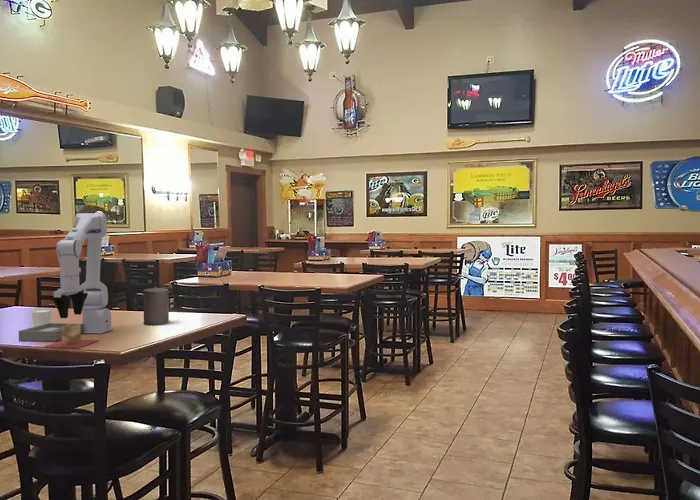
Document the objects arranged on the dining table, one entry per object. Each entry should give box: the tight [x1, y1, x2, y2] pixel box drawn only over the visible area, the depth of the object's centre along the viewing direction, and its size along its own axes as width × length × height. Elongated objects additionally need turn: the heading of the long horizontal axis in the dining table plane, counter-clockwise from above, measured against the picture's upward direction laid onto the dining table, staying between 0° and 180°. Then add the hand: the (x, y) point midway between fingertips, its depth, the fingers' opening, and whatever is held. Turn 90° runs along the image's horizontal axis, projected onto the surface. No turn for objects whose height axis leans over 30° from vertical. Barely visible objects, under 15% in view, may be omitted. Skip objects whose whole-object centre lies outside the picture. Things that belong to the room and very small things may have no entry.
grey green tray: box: [18, 322, 84, 343], centre depth 213 cm, size 14×16×4 cm
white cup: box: [31, 309, 53, 327], centre depth 229 cm, size 7×7×7 cm
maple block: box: [61, 323, 82, 344], centre depth 200 cm, size 4×4×6 cm
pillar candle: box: [142, 285, 170, 326], centre depth 240 cm, size 10×10×15 cm
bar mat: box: [43, 339, 100, 349], centre depth 200 cm, size 12×12×1 cm
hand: (71, 316), depth 200 cm, fingers open, 7 cm apart
